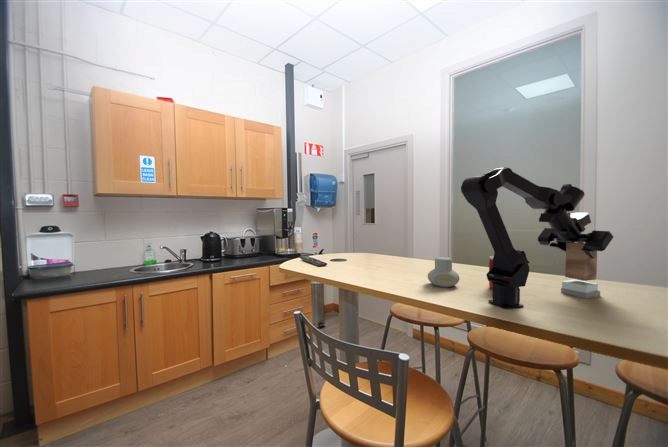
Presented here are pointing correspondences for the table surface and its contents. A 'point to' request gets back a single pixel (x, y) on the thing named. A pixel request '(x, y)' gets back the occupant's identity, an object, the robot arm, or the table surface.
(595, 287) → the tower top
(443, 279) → the air freshener
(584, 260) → the walnut post
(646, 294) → the table surface
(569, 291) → the tower base
